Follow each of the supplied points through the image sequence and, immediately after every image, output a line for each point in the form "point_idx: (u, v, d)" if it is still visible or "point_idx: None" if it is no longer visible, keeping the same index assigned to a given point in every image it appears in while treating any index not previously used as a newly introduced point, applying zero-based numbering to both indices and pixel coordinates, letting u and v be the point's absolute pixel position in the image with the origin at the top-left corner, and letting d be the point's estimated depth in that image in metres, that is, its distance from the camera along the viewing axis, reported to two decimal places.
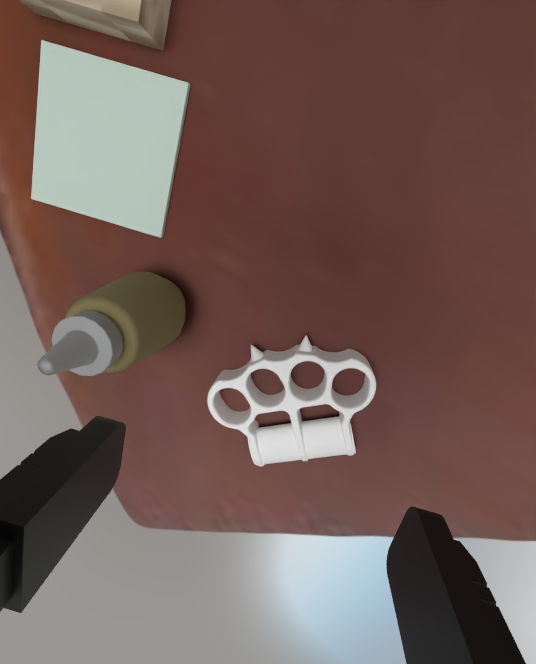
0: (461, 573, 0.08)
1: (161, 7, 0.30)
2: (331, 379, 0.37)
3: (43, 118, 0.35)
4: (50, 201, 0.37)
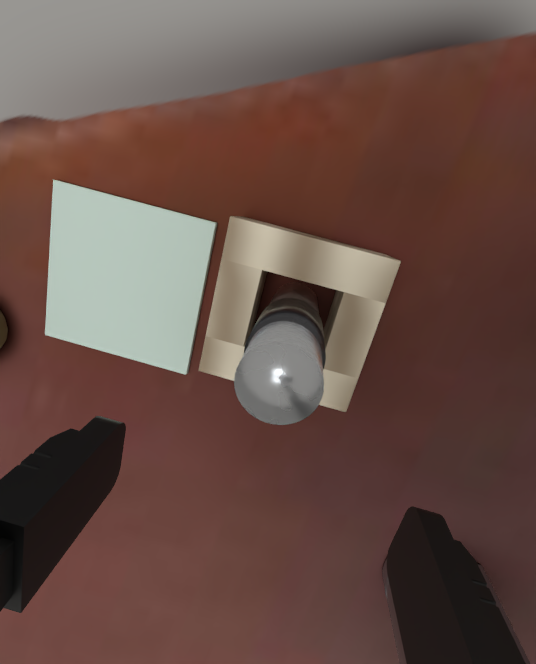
0: (461, 573, 0.08)
1: None
2: None
3: (140, 212, 0.30)
4: (55, 206, 0.30)
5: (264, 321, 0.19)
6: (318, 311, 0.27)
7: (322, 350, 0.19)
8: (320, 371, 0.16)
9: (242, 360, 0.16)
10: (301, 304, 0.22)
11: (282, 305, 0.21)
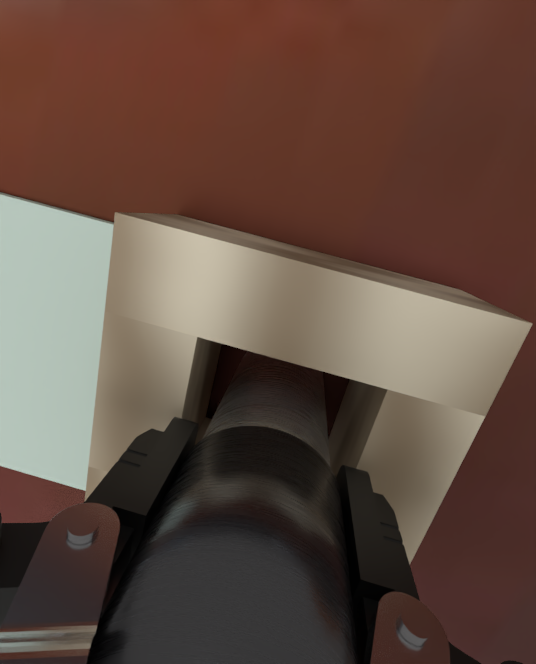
0: (371, 515, 0.08)
1: None
2: None
3: None
4: None
5: (114, 653, 0.05)
6: (325, 417, 0.13)
7: None
8: None
9: None
10: (282, 466, 0.08)
11: (221, 489, 0.07)
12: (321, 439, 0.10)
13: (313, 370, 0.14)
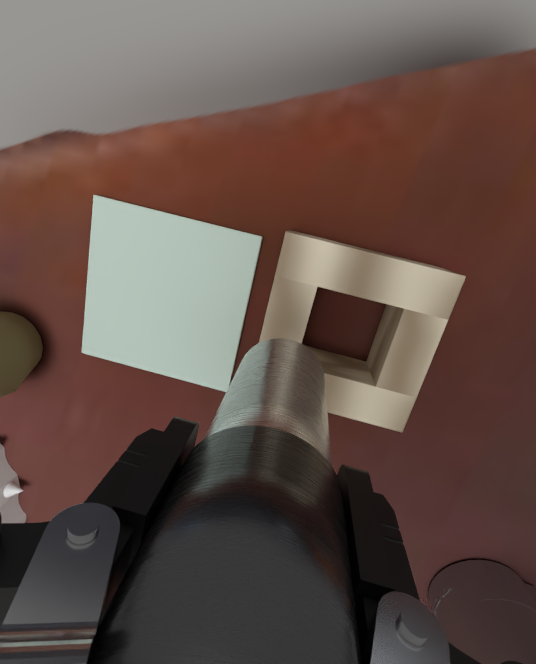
0: (371, 515, 0.08)
1: None
2: None
3: (183, 226, 0.29)
4: (95, 222, 0.30)
5: (117, 652, 0.05)
6: (327, 416, 0.13)
7: None
8: None
9: None
10: (284, 466, 0.08)
11: (223, 488, 0.07)
12: (323, 439, 0.10)
13: (314, 370, 0.14)
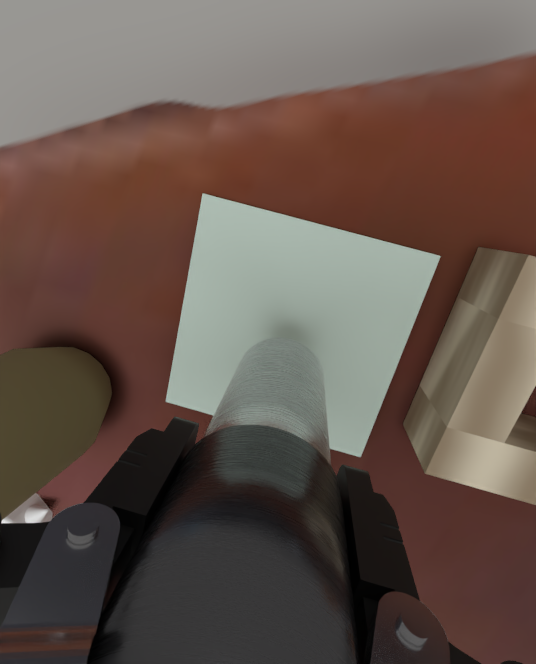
0: (371, 515, 0.08)
1: None
2: None
3: (328, 239, 0.21)
4: (201, 230, 0.21)
5: (114, 652, 0.04)
6: (326, 416, 0.13)
7: None
8: None
9: None
10: (283, 465, 0.08)
11: (221, 487, 0.07)
12: (322, 438, 0.10)
13: (314, 369, 0.14)
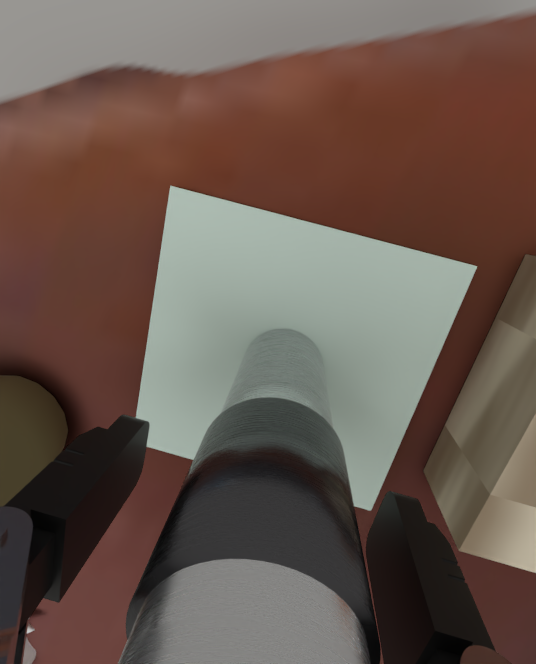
0: (431, 551, 0.08)
1: None
2: None
3: (332, 245, 0.16)
4: (170, 234, 0.17)
5: (183, 552, 0.06)
6: None
7: (370, 641, 0.06)
8: None
9: None
10: (298, 427, 0.09)
11: (249, 443, 0.08)
12: (326, 411, 0.12)
13: (315, 356, 0.16)
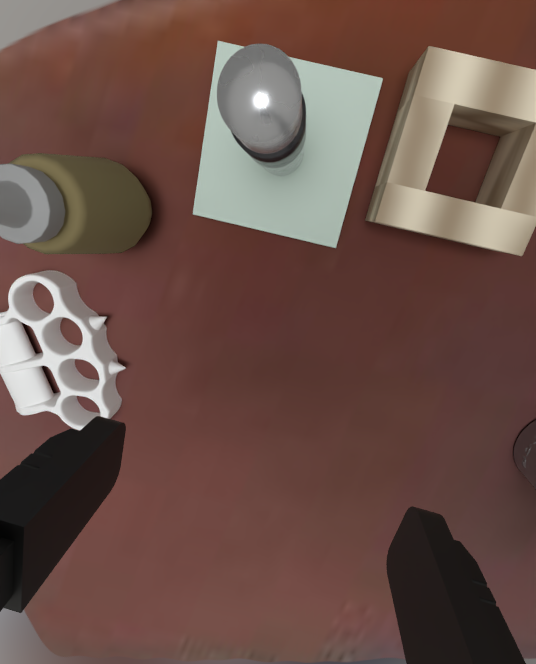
0: (461, 573, 0.08)
1: (395, 227, 0.32)
2: (85, 396, 0.39)
3: (306, 71, 0.30)
4: (217, 70, 0.31)
5: None
6: None
7: (302, 103, 0.20)
8: (297, 73, 0.17)
9: (223, 69, 0.17)
10: None
11: None
12: None
13: None
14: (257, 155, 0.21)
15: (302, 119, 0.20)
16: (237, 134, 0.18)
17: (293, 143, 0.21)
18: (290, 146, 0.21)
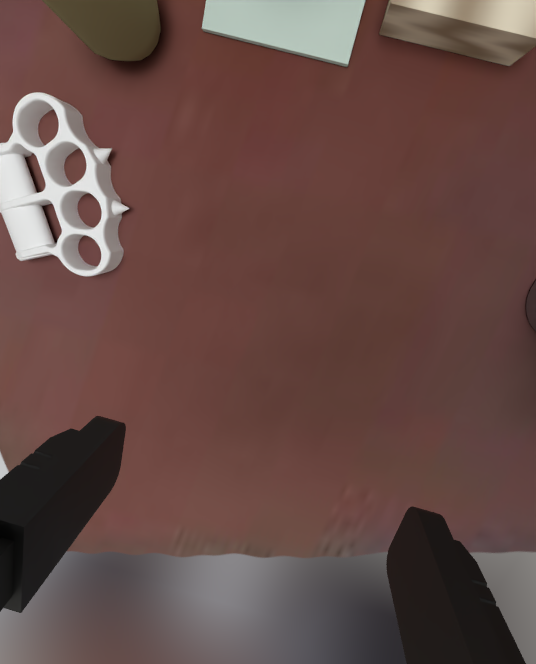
0: (461, 573, 0.08)
1: (410, 32, 0.31)
2: (87, 234, 0.38)
3: None
4: None
5: None
6: None
7: None
8: None
9: None
10: None
11: None
12: None
13: None
14: None
15: None
16: None
17: None
18: None
